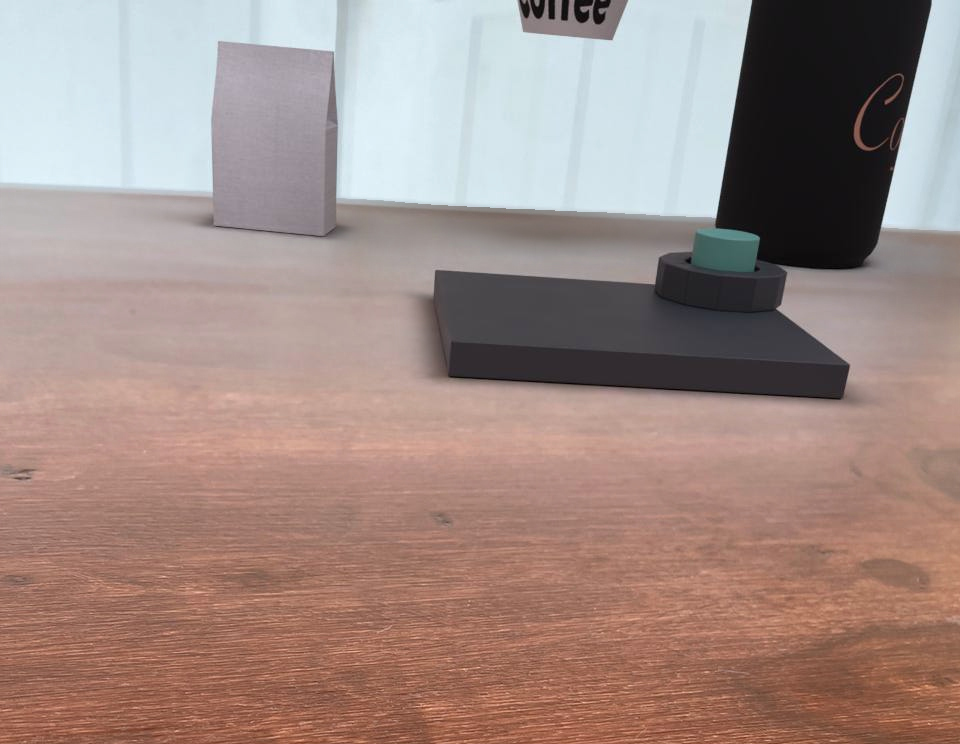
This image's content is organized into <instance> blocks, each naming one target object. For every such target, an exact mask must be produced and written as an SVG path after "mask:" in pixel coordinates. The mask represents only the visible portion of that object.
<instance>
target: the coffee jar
mask: <svg viewBox="0 0 960 744" xmlns="http://www.w3.org/2000/svg"><path fill="white" fill-rule="evenodd" d="M932 5H933V0H751V5H750V10H749V16H748V22H747V29H746V35H745V40H744V47H743V52H742V59H741V66H740V70H739V77H738V84H737V89H736V97H735V102H734V108H733V113H732V120H731V125H730V131H729V138H728V145H727V150H726V155H725V162H724V169H723V175H722V179H721V180H722V181H721V185H720V193H719V199H718V205H717V211H716V215H715V222H714V228H716V229H728V230H736V231H742V232H747V233H751V234H754V235H757V236H759V238H760V241H759V246H758V252H757V257H756V259H757V260H761V261H764V262H768V263H772V264H779V265H785V266H795V267H805V268H816V269H848V268H855V267H859V266H862V264H863V263H864V261H865V260H866V259H867V258H868V257H869V256H870V255H872V253H873V252H874V250H875V249H876V247H877V245H878V244H879V238H880V235H881V229H882V226H883V221H884V217H885V211H886V208H887V203H888V198H889V194H890V190H891V186H892V182H893V177H894V173H895V168H896V164H897V160H898V155H899V151H900V146H901V142H902V137H903V132H904V129H905V124H906V120H907V115H908V111H909V108H910V107H909V106H910V103H911V98H912V94H913V88H914V85H915V81H916V75H917V70H918V67H919V63H920V58H921V54H922V50H923V45H924V40H925V36H926V31H927V28H928V24H929V19H930V15H931V10H932Z"/></svg>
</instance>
